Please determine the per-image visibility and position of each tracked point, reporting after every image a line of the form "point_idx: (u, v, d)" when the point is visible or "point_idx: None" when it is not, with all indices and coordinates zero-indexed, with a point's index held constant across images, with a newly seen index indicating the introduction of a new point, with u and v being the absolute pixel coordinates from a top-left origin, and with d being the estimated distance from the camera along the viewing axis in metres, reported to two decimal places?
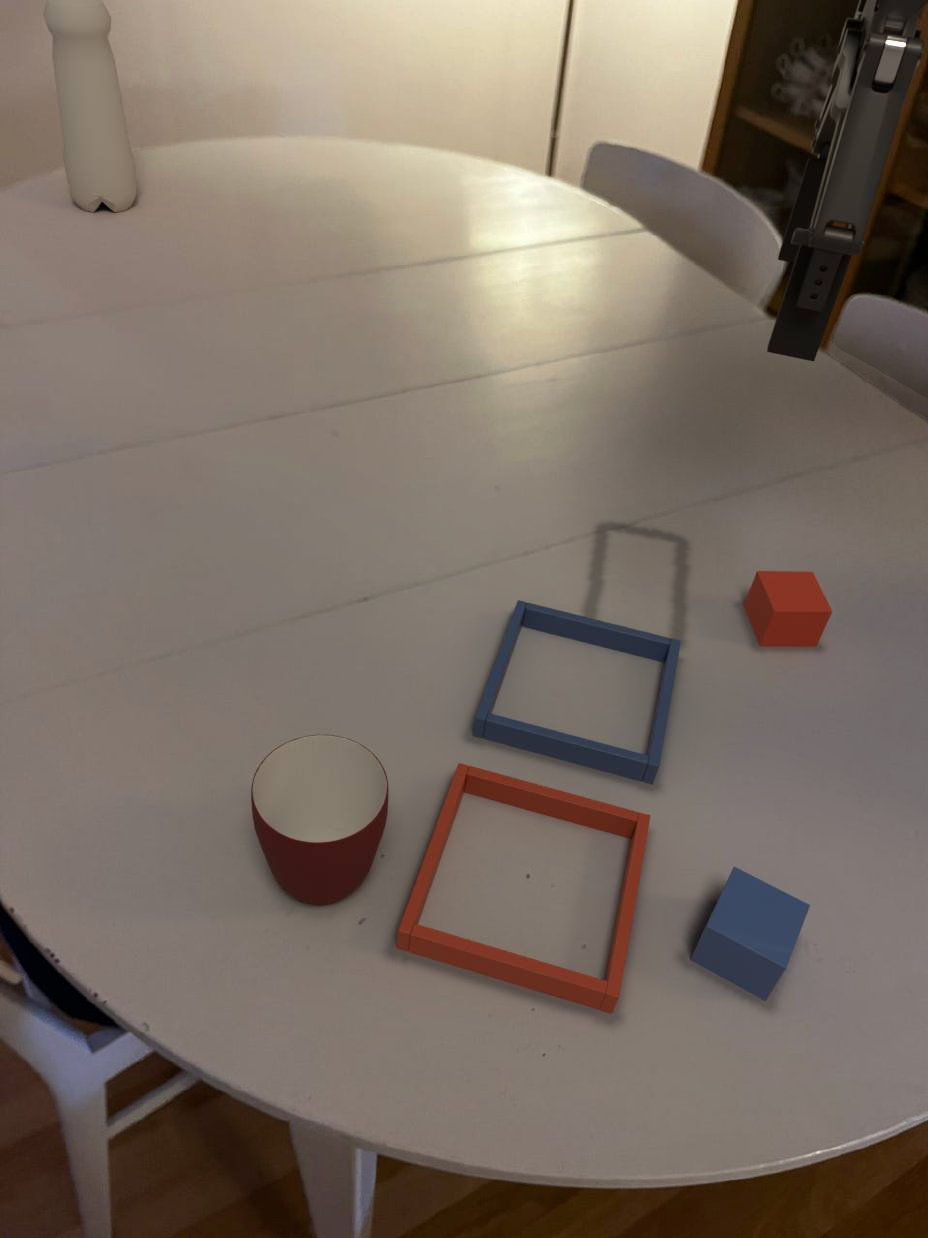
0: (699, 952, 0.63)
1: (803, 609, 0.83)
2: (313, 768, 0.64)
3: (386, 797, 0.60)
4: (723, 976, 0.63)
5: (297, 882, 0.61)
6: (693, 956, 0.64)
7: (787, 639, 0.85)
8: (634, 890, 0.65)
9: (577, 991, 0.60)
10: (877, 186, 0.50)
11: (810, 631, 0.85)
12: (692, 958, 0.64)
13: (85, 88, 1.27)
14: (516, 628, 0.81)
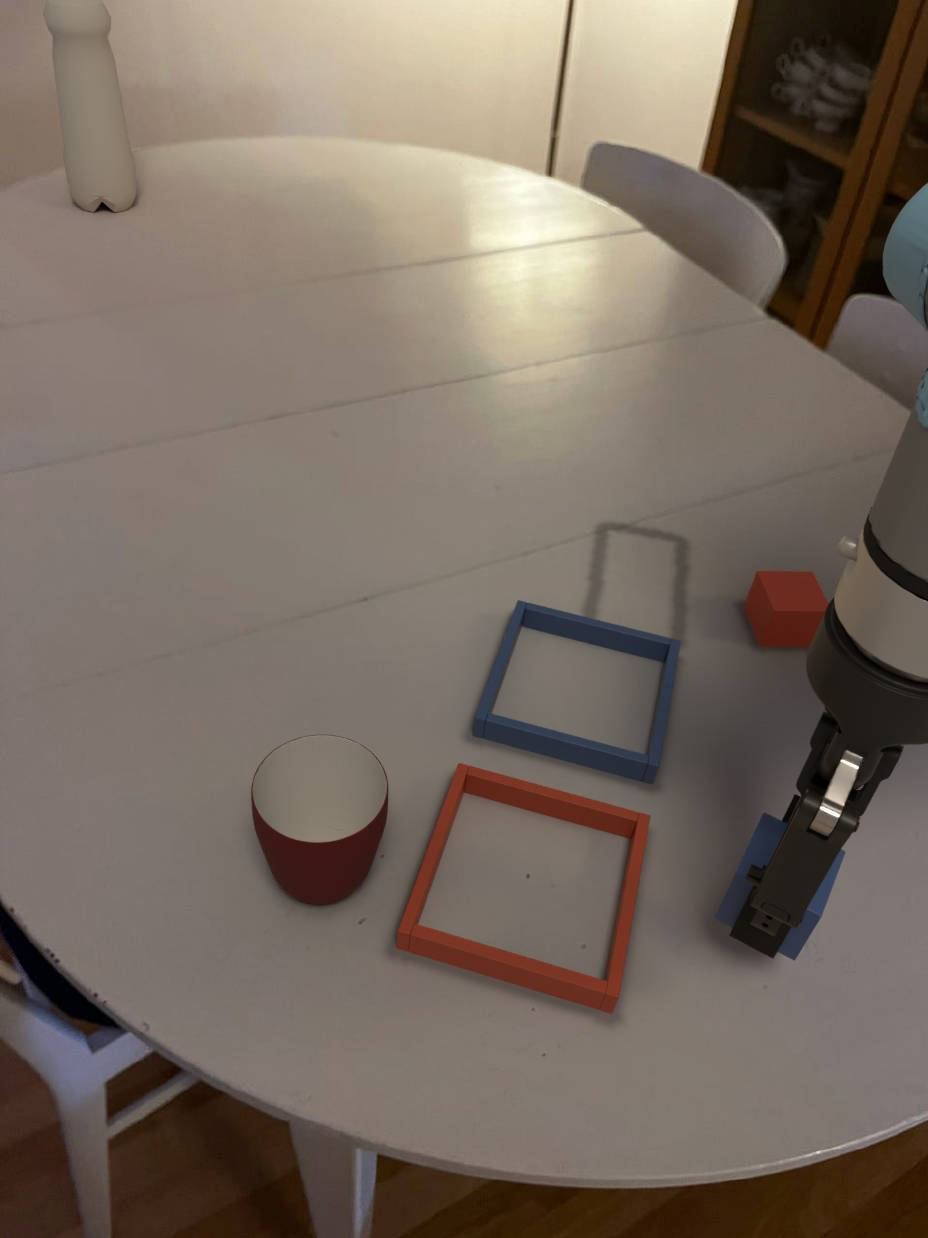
0: (727, 902, 0.59)
1: (803, 609, 0.83)
2: (313, 768, 0.64)
3: (386, 797, 0.60)
4: None
5: (297, 882, 0.61)
6: (721, 907, 0.60)
7: (787, 639, 0.85)
8: (634, 890, 0.65)
9: (577, 991, 0.60)
10: (811, 897, 0.50)
11: (810, 631, 0.85)
12: (720, 909, 0.60)
13: (85, 88, 1.27)
14: (516, 628, 0.81)
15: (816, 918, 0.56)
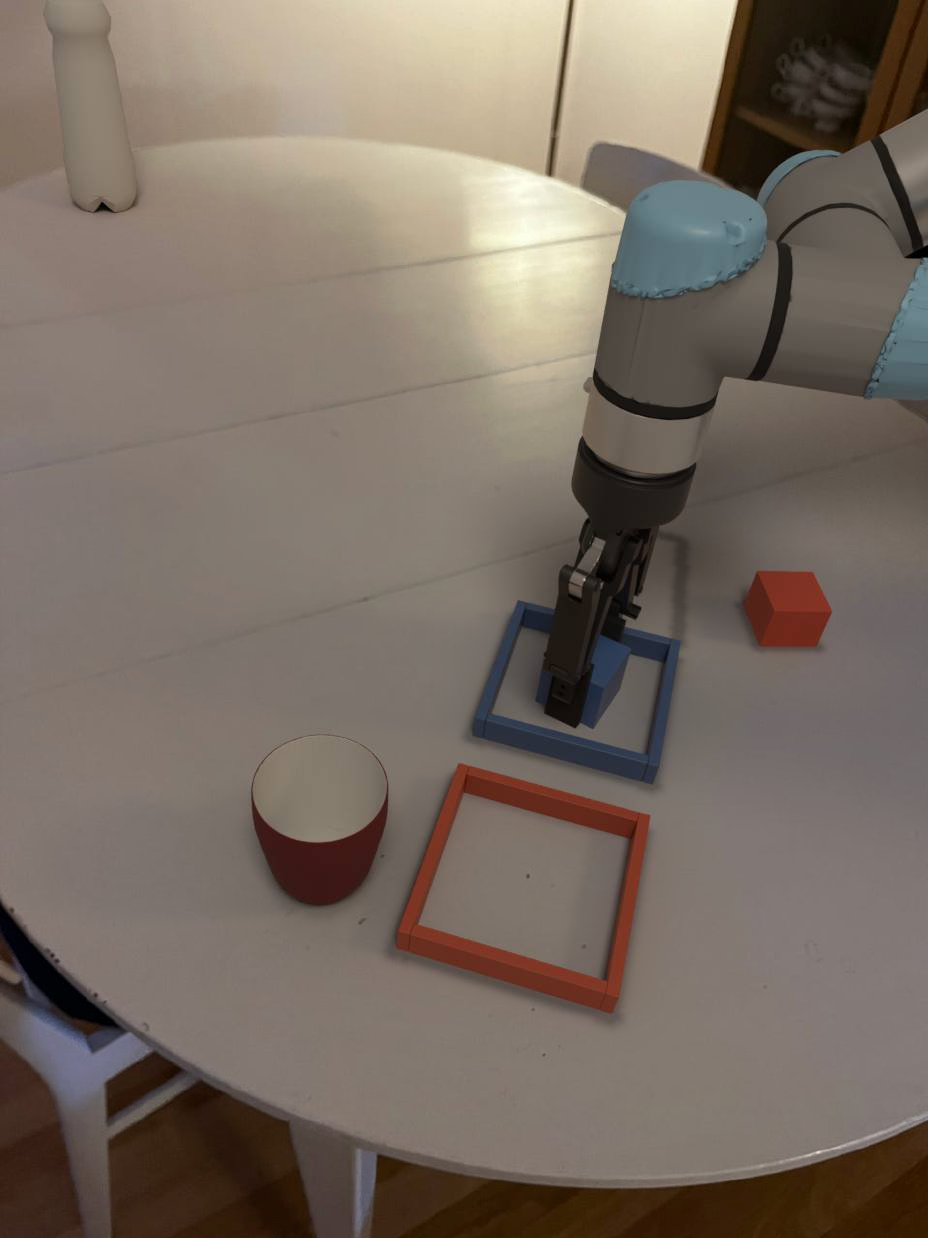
0: (541, 687, 0.77)
1: (803, 609, 0.83)
2: (313, 768, 0.64)
3: (386, 797, 0.60)
4: None
5: (297, 882, 0.61)
6: (537, 692, 0.78)
7: (787, 639, 0.85)
8: (634, 890, 0.65)
9: (577, 991, 0.60)
10: (579, 654, 0.68)
11: (810, 631, 0.85)
12: (537, 694, 0.78)
13: (85, 88, 1.27)
14: (516, 628, 0.81)
15: (601, 690, 0.74)
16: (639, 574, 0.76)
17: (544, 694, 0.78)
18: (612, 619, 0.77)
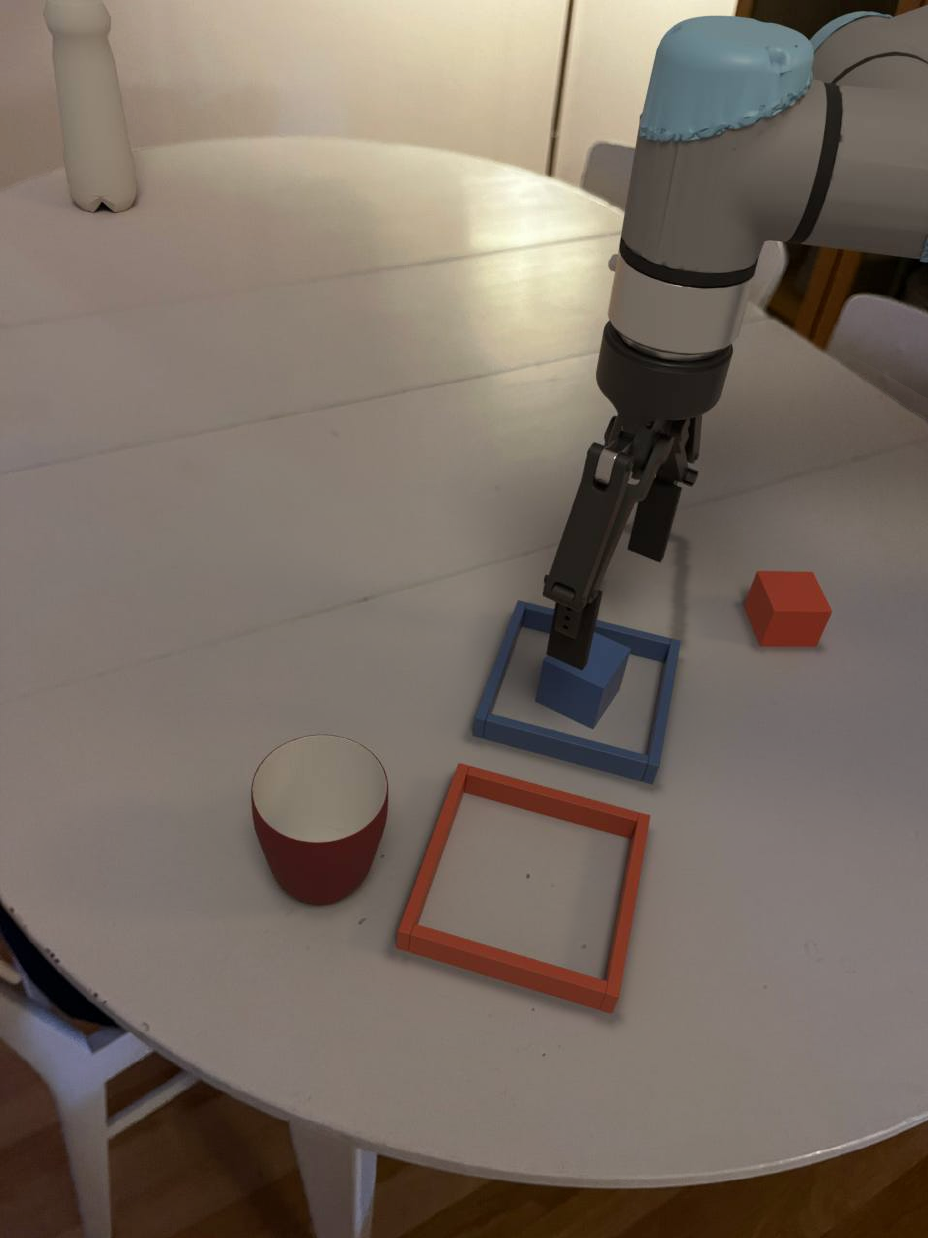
0: (541, 687, 0.77)
1: (803, 609, 0.83)
2: (313, 768, 0.64)
3: (386, 797, 0.60)
4: (561, 707, 0.78)
5: (297, 882, 0.61)
6: (537, 692, 0.78)
7: (787, 639, 0.85)
8: (634, 890, 0.65)
9: (577, 991, 0.60)
10: (593, 563, 0.60)
11: (810, 631, 0.85)
12: (537, 695, 0.78)
13: (85, 88, 1.27)
14: (516, 628, 0.81)
15: (600, 690, 0.74)
16: (690, 447, 0.72)
17: (544, 694, 0.78)
18: (667, 486, 0.73)
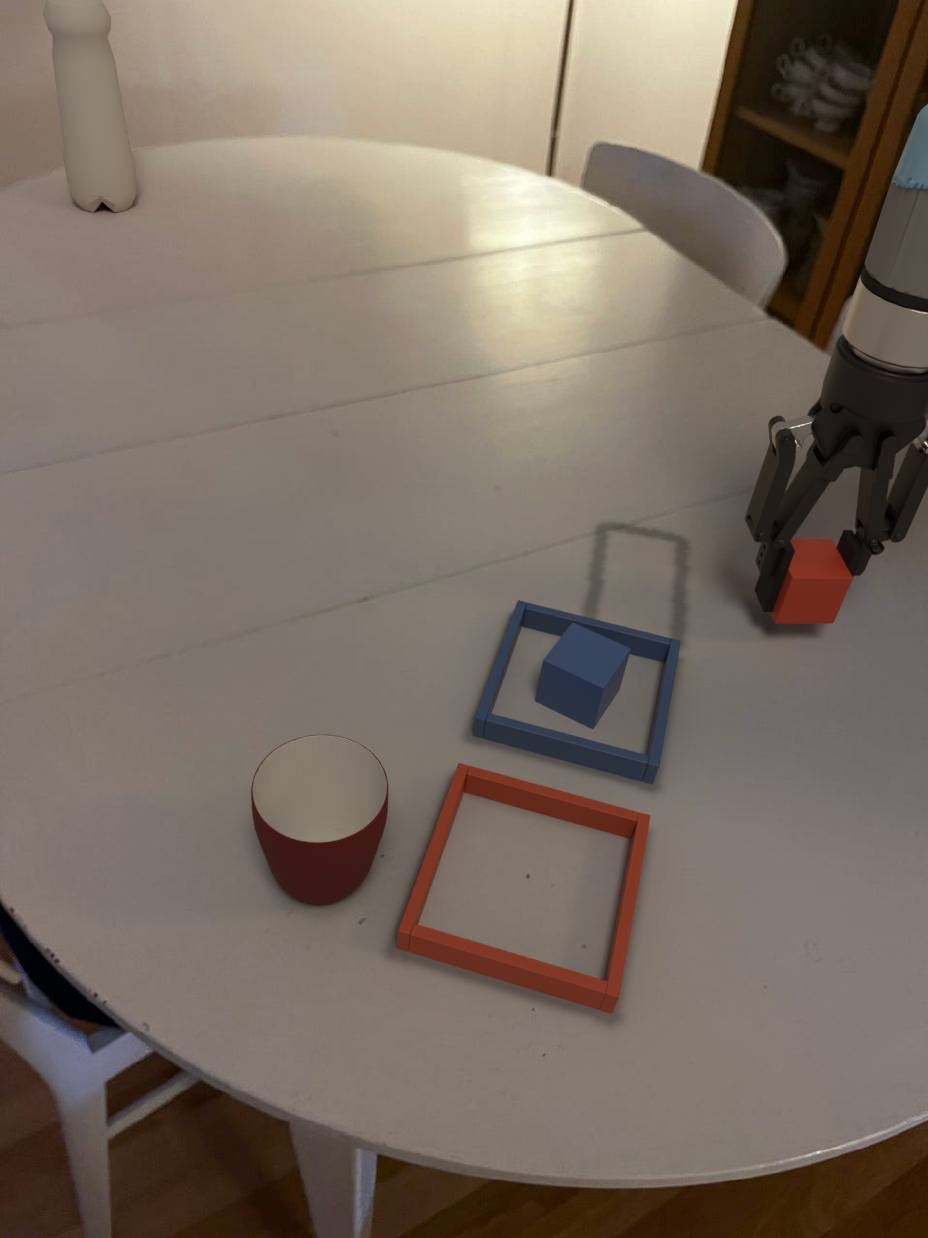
0: (541, 687, 0.77)
1: (822, 576, 0.80)
2: (313, 768, 0.64)
3: (386, 797, 0.60)
4: (561, 707, 0.78)
5: (297, 882, 0.61)
6: (537, 692, 0.78)
7: (806, 608, 0.83)
8: (634, 890, 0.65)
9: (577, 991, 0.60)
10: (763, 508, 0.77)
11: (830, 599, 0.82)
12: (537, 695, 0.78)
13: (85, 88, 1.27)
14: (516, 628, 0.81)
15: (600, 690, 0.74)
16: (897, 516, 0.79)
17: (544, 694, 0.78)
18: (853, 543, 0.81)
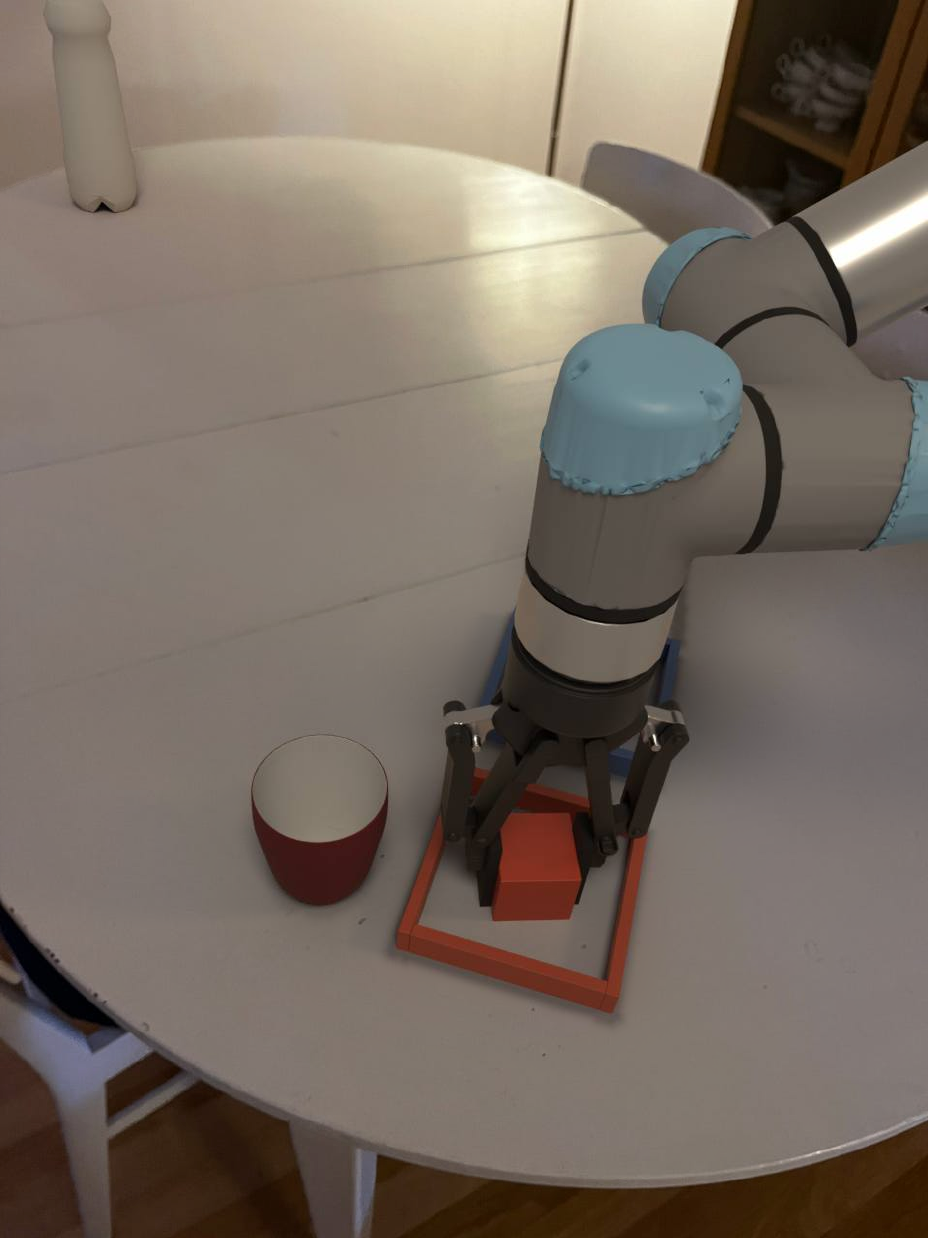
0: None
1: (542, 879, 0.62)
2: (313, 768, 0.64)
3: (386, 797, 0.60)
4: None
5: (297, 882, 0.61)
6: None
7: (529, 909, 0.64)
8: (634, 890, 0.65)
9: (577, 991, 0.60)
10: (447, 808, 0.58)
11: (557, 900, 0.64)
12: None
13: (85, 88, 1.27)
14: None
15: None
16: (632, 811, 0.60)
17: None
18: (584, 836, 0.62)
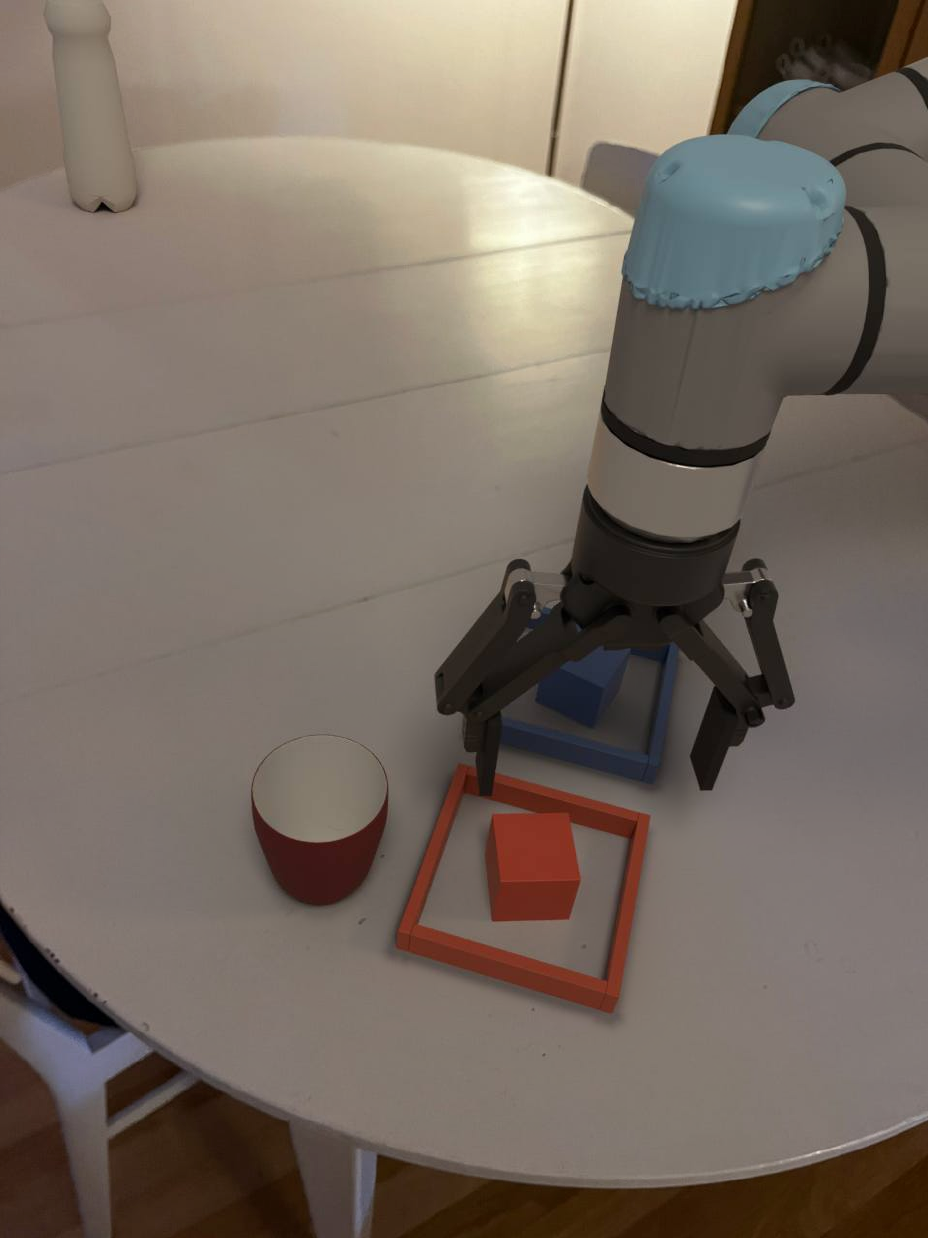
0: (541, 687, 0.77)
1: (541, 878, 0.62)
2: (313, 768, 0.64)
3: (386, 797, 0.60)
4: (561, 707, 0.78)
5: (297, 882, 0.61)
6: (537, 692, 0.78)
7: (528, 910, 0.64)
8: (634, 890, 0.65)
9: (577, 991, 0.60)
10: (463, 674, 0.54)
11: (556, 900, 0.64)
12: (537, 695, 0.78)
13: (85, 88, 1.27)
14: None
15: (600, 690, 0.74)
16: (767, 683, 0.56)
17: (544, 694, 0.78)
18: (725, 708, 0.59)
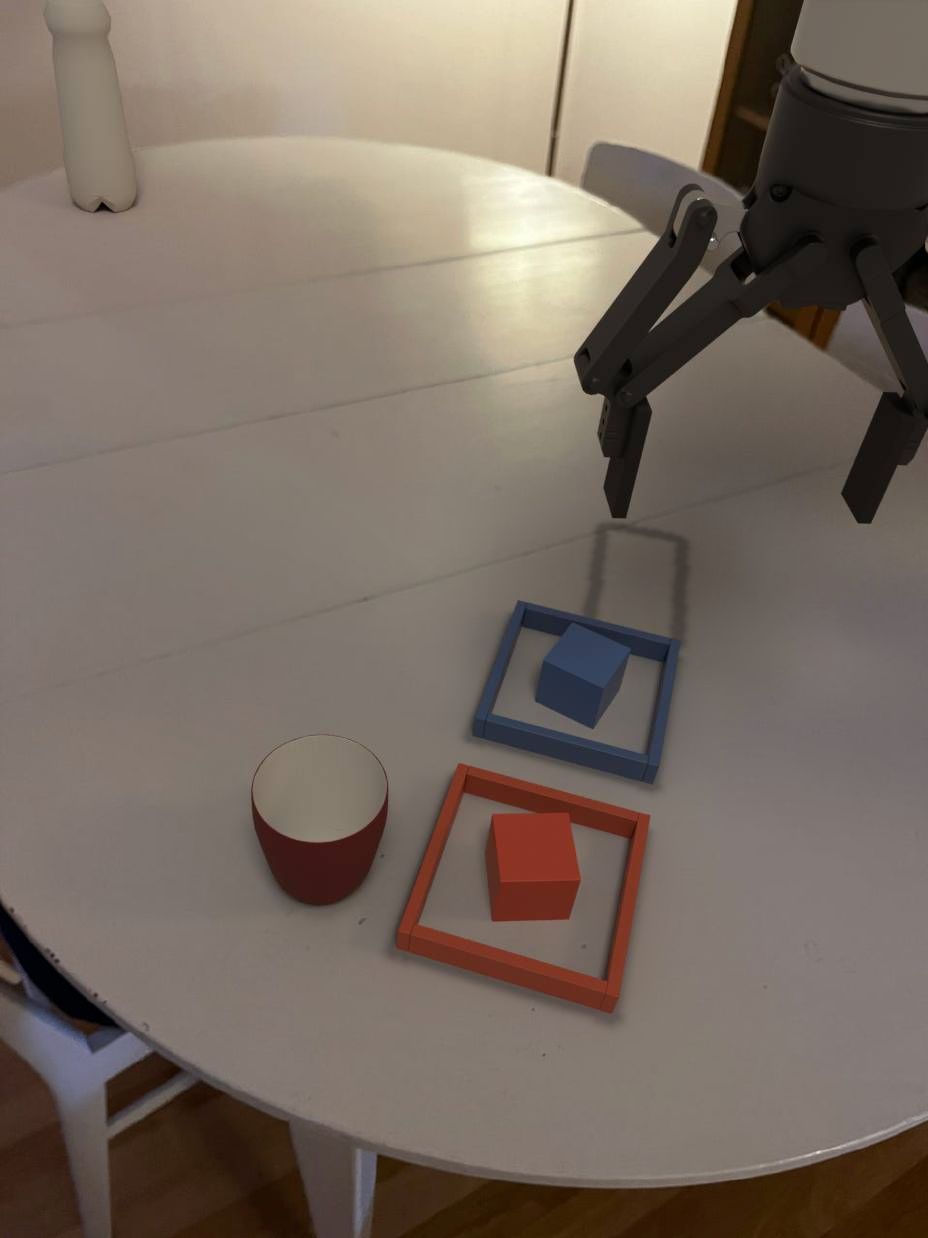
0: (541, 687, 0.77)
1: (541, 878, 0.62)
2: (313, 768, 0.64)
3: (386, 797, 0.60)
4: (561, 707, 0.78)
5: (297, 882, 0.61)
6: (537, 692, 0.78)
7: (528, 910, 0.64)
8: (634, 890, 0.65)
9: (577, 991, 0.60)
10: (618, 332, 0.46)
11: (556, 900, 0.64)
12: (537, 695, 0.78)
13: (85, 88, 1.27)
14: (516, 628, 0.81)
15: (600, 690, 0.74)
16: None
17: (544, 694, 0.78)
18: (900, 410, 0.51)
